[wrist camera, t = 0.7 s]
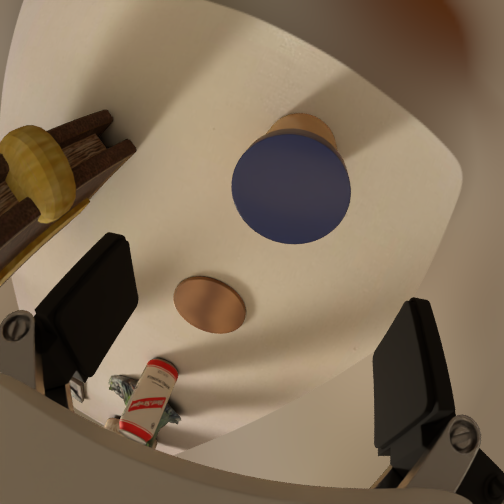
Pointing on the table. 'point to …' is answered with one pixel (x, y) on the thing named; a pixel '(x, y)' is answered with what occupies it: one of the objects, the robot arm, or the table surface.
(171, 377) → the beer can
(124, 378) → the tree stump
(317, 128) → the jar
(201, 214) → the table surface
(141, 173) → the table surface
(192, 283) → the coaster
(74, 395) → the picture frame
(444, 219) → the table surface
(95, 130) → the book
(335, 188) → the lid
